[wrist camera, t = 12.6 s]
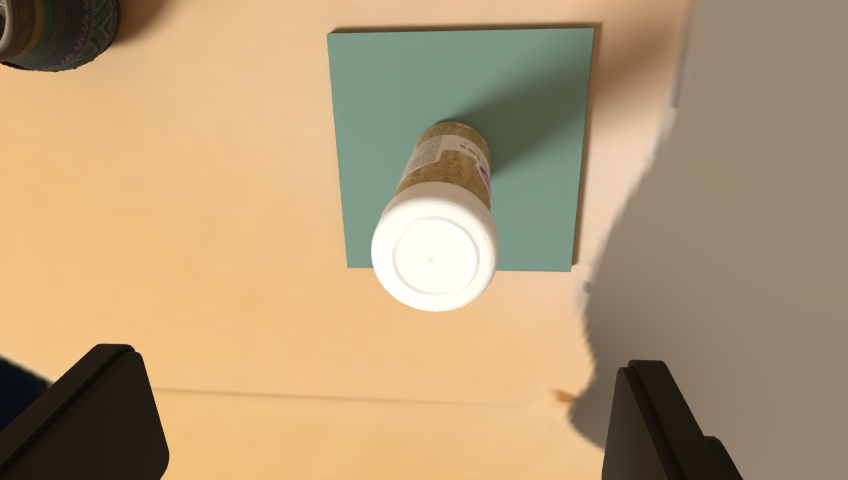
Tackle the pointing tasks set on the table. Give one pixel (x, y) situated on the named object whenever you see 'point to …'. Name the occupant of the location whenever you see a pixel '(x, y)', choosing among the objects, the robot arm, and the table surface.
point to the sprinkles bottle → (439, 223)
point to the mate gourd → (56, 32)
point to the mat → (476, 107)
